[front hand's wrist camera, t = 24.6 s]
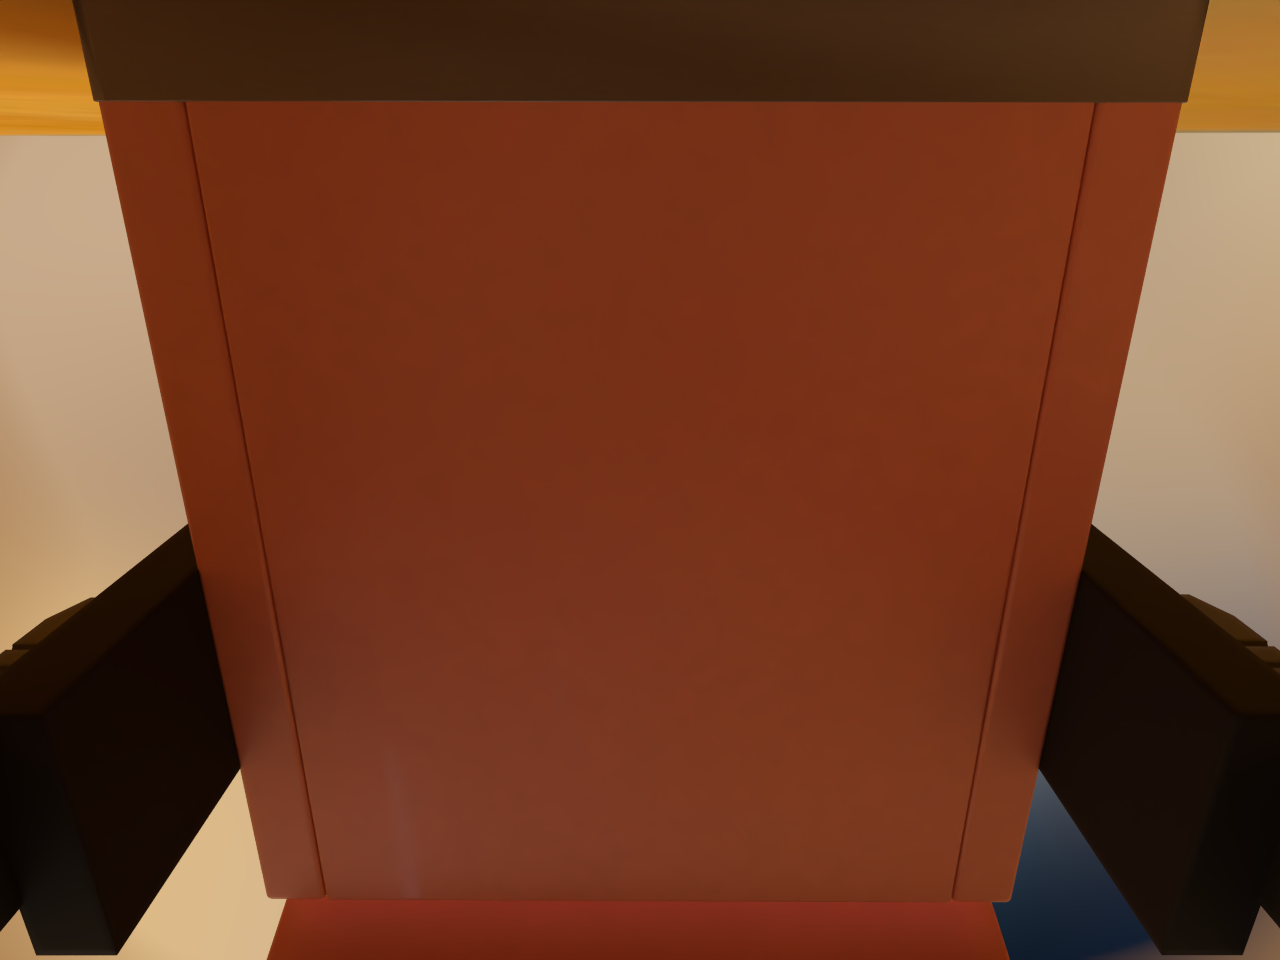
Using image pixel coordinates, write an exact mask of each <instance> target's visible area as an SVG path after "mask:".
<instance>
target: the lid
mask: <svg viewBox="0 0 1280 960" xmlns="http://www.w3.org/2000/svg"><path fill="white" fill-rule="evenodd" d="M267 960H1010V959H1009V956H1008V953H1007V950H1006V947H1005V943H1004V940H1003V937H1002V934H1001V931H1000V928H999V925H998V921H997V918H996V915H995V912H994V909H993V906H992V903H991V902H957V901H954V900H953V899H951V901H950V902H948V903H929V902H714V901H499V900H330V899H328V898H327V896H325V897H324V898H322V899H287V900H286V903H285V906H284V909H283V912H282V915H281V918H280V921H279V924H278V927H277V930H276V933H275V936H274V939H273V942H272V945H271V948H270V951H269V954H268V958H267Z"/></svg>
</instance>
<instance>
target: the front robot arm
mask: <svg viewBox="0 0 1280 960" xmlns="http://www.w3.org/2000/svg"><path fill="white" fill-rule="evenodd" d="M240 768H241V766H240V762H239V757H238V752H237V748H236V743H235V738H234V734H233V729H232V724H231V719H230V715H229V710H228V705H227V701H226V696H225V691H224V687H223V682H222V677H221V672H220V668H219V663H218V658H217V654H216V649H215V644H214V640H213V635H212V630H211V626H210V621H209V616H208V611H207V607H206V602H205V597H204V593H203V588H202V583H201V579H200V574H199V569H198V567H197V562H196V558H195V553H194V548H193V544H192V539H191V534H190V529H189V525H188V524H187V525H186V526H184V527H183V528H182V529H181V530H179V531H178V532H177V533H176V534H174V535H173V536H172V537H171V538H169V539H168V540H167V541H166V542H164V543H163V544H162V545H161V546H159V547H158V548H157V549H156V550H154V551H153V552H152V553H151V554H149V555H148V556H147V557H146V558H144V559H143V560H142V561H141V562H139V563H138V564H137V565H136V566H134V567H133V568H132V569H130V570H129V571H128V572H127V573H126V574H124V575H123V576H122V577H120V578H119V579H118V580H117V581H115V582H114V583H113V584H112V585H110V586H109V587H108V588H107V589H105V590H104V591H103V592H102V593H100V594H99V595H98V596H97V597H95V598H89V599H87V600H85V601H82V602H80V603H78V604H76V605H74V606H72V607H70V608H68V609H66V610H64V611H62V612H60V613H58V614H55V615H53V616H51V617H49V618H47V619H45V620H44V621H43V622H41V623H40V624H39V625H38V626H36V627H35V628H34V629H32V630H31V631H30V632H28V633H27V634H26V635H24V636H23V637H22V638H21V639H19V640H18V641H17V642H15V643H14V644H13V647H12V650H5V651H4V652H2V653H1V654H0V931H1V930H2V929H3V928H4V927H5V925H6V924H7V923H8V922H9V921H10V919H11V918H12V917H13V916H14V915H15V913H16V912H17V911H18V910H19V909H20V912H21V915H22V917H23V920H24V923H25V926H26V928H27V931H28V934H29V937H30V939H31V942H32V945H33V948H34V950H35V953H36V955H117V954H118V953H119V951H120V950H121V948H122V947H123V945H124V944H125V942H126V941H127V939H128V938H129V936H130V935H131V933H132V932H133V930H134V929H135V927H136V926H137V924H138V923H139V921H140V920H141V918H142V917H143V915H144V914H145V912H146V910H147V909H148V907H149V906H150V904H151V903H152V901H153V900H154V898H155V897H156V895H157V894H158V892H159V891H160V889H161V888H162V886H163V885H164V883H165V882H166V880H167V879H168V877H169V876H170V874H171V873H172V871H173V870H174V868H175V867H176V865H177V863H178V862H179V860H180V859H181V857H182V856H183V854H184V853H185V851H186V850H187V848H188V847H189V845H190V844H191V842H192V841H193V839H194V838H195V836H196V835H197V833H198V832H199V830H200V829H201V827H202V826H203V824H204V823H205V821H206V820H207V818H208V817H209V815H210V814H211V812H212V810H213V809H214V807H215V806H216V804H217V803H218V801H219V800H220V798H221V797H222V795H223V794H224V792H225V791H226V789H227V788H228V786H229V785H230V783H231V782H232V780H233V779H234V777H235V776H236V774H237V773H238V771H239V770H240ZM1039 769H1040V771H1041V772H1042V774H1043V775H1044V777H1045V779H1046V780H1047V782H1048V783H1049V785H1050V786H1051V788H1052V789H1053V791H1054V792H1055V794H1056V795H1057V797H1058V798H1059V800H1060V801H1061V803H1062V804H1063V806H1064V807H1065V809H1066V810H1067V812H1068V813H1069V815H1070V816H1071V818H1072V819H1073V821H1074V822H1075V824H1076V825H1077V827H1078V828H1079V830H1080V832H1081V833H1082V835H1083V836H1084V838H1085V839H1086V841H1087V842H1088V844H1089V845H1090V847H1091V848H1092V850H1093V851H1094V853H1095V854H1096V856H1097V857H1098V859H1099V860H1100V862H1101V863H1102V865H1103V866H1104V868H1105V869H1106V871H1107V873H1108V874H1109V876H1110V877H1111V878H1112V880H1113V882H1114V883H1115V885H1116V886H1117V887H1118V889H1119V891H1120V892H1121V894H1122V895H1123V897H1124V898H1125V900H1126V901H1127V903H1128V904H1129V906H1130V907H1131V909H1132V910H1133V912H1134V913H1135V915H1136V916H1137V918H1138V920H1139V921H1140V923H1141V924H1142V926H1143V927H1144V929H1145V930H1146V932H1147V933H1148V935H1149V936H1150V938H1151V939H1152V941H1153V942H1154V944H1155V945H1156V947H1157V948H1158V950H1159V951H1160V953H1161V954H1162V955H1243V952H1244V950H1245V947H1246V944H1247V941H1248V938H1249V936H1250V933H1251V930H1252V928H1253V925H1254V922H1255V919H1256V917H1257V914H1258V911H1259V908H1260V906H1262V907H1263V909H1264V910H1265V911H1266V912H1267V913H1268V915H1269V916H1270V917H1271V918H1272V919H1273V921H1274V922H1275V923H1276V924H1277V925H1278V926H1279V928H1280V651H1279V650H1278V649H1277V648H1276V647H1274V646H1268V645H1267V641H1266V640H1265V639H1264V638H1262V637H1261V636H1260V635H1258V634H1257V633H1256V632H1254V631H1253V630H1252V629H1250V628H1249V627H1248V626H1247V625H1245V624H1244V623H1243V622H1241V621H1240V620H1239V619H1237V618H1236V617H1235V616H1233V615H1231V614H1229V613H1227V612H1225V611H1223V610H1220V609H1218V608H1216V607H1214V606H1212V605H1210V604H1208V603H1206V602H1204V601H1202V600H1199V599H1197V598H1195V597H1193V596H1191V595H1180V594H1179V593H1177V592H1176V591H1175V590H1174V589H1172V588H1171V587H1170V586H1169V585H1167V584H1166V583H1165V582H1164V581H1162V580H1161V579H1160V578H1159V577H1157V576H1156V575H1155V574H1154V573H1152V572H1151V571H1150V570H1149V569H1147V568H1146V567H1145V566H1144V565H1142V564H1141V563H1140V562H1138V561H1137V560H1136V559H1135V558H1133V557H1132V556H1131V555H1130V554H1128V553H1127V552H1126V551H1125V550H1123V549H1122V548H1121V547H1120V546H1118V545H1117V544H1116V543H1115V542H1113V541H1112V540H1111V539H1110V538H1108V537H1107V536H1106V535H1105V534H1103V533H1102V532H1101V531H1100V530H1098V529H1097V528H1096V527H1095V526H1093V525H1092V524H1091V528H1090V532H1089V537H1088V542H1087V546H1086V551H1085V556H1084V560H1083V565H1082V570H1081V574H1080V579H1079V584H1078V588H1077V593H1076V597H1075V602H1074V607H1073V611H1072V616H1071V621H1070V625H1069V630H1068V635H1067V639H1066V644H1065V649H1064V653H1063V658H1062V663H1061V667H1060V672H1059V677H1058V681H1057V686H1056V690H1055V695H1054V700H1053V704H1052V709H1051V714H1050V718H1049V723H1048V728H1047V732H1046V737H1045V742H1044V746H1043V751H1042V756H1041V760H1040V765H1039Z"/></svg>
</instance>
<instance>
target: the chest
mask: <svg viewBox="0 0 1280 960" xmlns="http://www.w3.org/2000/svg"><path fill="white" fill-rule="evenodd" d="M72 2H73V7H74V11H75V16H76V21H77V25H78V30H79V35H80V39H81V44H82V49H83V53H84V58H85V63H86V67H87V72H88V77H89V81H90V86H91V91H92V95H93V100H94V101H96V102H99V105H100V110H101V114H102V119H103V124H104V128H105V133H106V138H107V143H108V147H109V152H110V157H111V162H112V166H113V171H114V176H115V180H116V185H117V190H118V194H119V199H120V204H121V209H122V213H123V218H124V223H125V227H126V232H127V237H128V242H129V246H130V251H131V256H132V260H133V265H134V270H135V275H136V279H137V284H138V288H139V293H140V298H141V303H142V308H143V312H144V317H145V322H146V327H147V331H148V336H149V341H150V345H151V350H152V355H153V360H154V364H155V369H156V374H157V378H158V383H159V388H160V393H161V397H162V402H163V407H164V412H165V416H166V421H167V426H168V430H169V435H170V440H171V444H172V449H173V454H174V459H175V463H176V468H177V473H178V477H179V482H180V487H181V492H182V496H183V501H184V506H185V510H186V515H187V520H188V525H189V529H190V534H191V539H192V544H193V548H194V553H195V558H196V562H197V567H198V569H199V574H200V579H201V583H202V588H203V593H204V597H205V602H206V607H207V611H208V616H209V621H210V626H211V630H212V635H213V640H214V644H215V649H216V654H217V658H218V663H219V668H220V672H221V677H222V682H223V687H224V691H225V696H226V701H227V705H228V710H229V715H230V719H231V724H232V729H233V734H234V738H235V743H236V748H237V752H238V757H239V762H240V766H241V768H240V770H241V775H242V779H243V784H244V789H245V793H246V798H247V803H248V808H249V812H250V817H251V822H252V826H253V831H254V836H255V841H256V845H257V850H258V855H259V860H260V864H261V869H262V874H263V878H264V883H265V888H266V893H267V896H268V897H269V898H272V899H322V898H324V897H325V896H326V895H327V898H328V899H330V900H499V901H714V902H929V903H948V902H950V901H951V898H952V899H953V900H954V901H957V902H1007V901H1009V900H1010V899H1011V895H1012V890H1013V886H1014V881H1015V877H1016V872H1017V867H1018V863H1019V858H1020V853H1021V848H1022V844H1023V839H1024V835H1025V830H1026V825H1027V821H1028V816H1029V811H1030V807H1031V802H1032V797H1033V793H1034V788H1035V783H1036V779H1037V774H1038V769H1039V765H1040V760H1041V756H1042V751H1043V746H1044V742H1045V737H1046V732H1047V728H1048V723H1049V718H1050V714H1051V709H1052V704H1053V700H1054V695H1055V690H1056V686H1057V681H1058V677H1059V672H1060V667H1061V663H1062V658H1063V653H1064V649H1065V644H1066V639H1067V635H1068V630H1069V625H1070V621H1071V616H1072V611H1073V607H1074V602H1075V597H1076V593H1077V588H1078V584H1079V579H1080V574H1081V570H1082V565H1083V560H1084V556H1085V551H1086V546H1087V542H1088V537H1089V532H1090V528H1091V523H1092V518H1093V514H1094V509H1095V504H1096V500H1097V495H1098V491H1099V486H1100V481H1101V477H1102V472H1103V467H1104V463H1105V458H1106V453H1107V449H1108V444H1109V439H1110V435H1111V430H1112V425H1113V421H1114V416H1115V411H1116V407H1117V402H1118V398H1119V393H1120V388H1121V384H1122V379H1123V374H1124V370H1125V365H1126V360H1127V356H1128V351H1129V346H1130V342H1131V337H1132V332H1133V328H1134V323H1135V318H1136V314H1137V309H1138V304H1139V300H1140V295H1141V291H1142V286H1143V281H1144V277H1145V272H1146V267H1147V262H1148V258H1149V253H1150V249H1151V244H1152V239H1153V235H1154V230H1155V225H1156V221H1157V216H1158V212H1159V207H1160V202H1161V198H1162V193H1163V188H1164V184H1165V179H1166V174H1167V169H1168V165H1169V160H1170V156H1171V151H1172V146H1173V142H1174V137H1175V132H1176V128H1177V123H1178V119H1179V114H1180V109H1181V105H1182V103H1186V102H1187V101H1188V96H1189V92H1190V87H1191V83H1192V78H1193V73H1194V69H1195V64H1196V60H1197V55H1198V50H1199V46H1200V41H1201V36H1202V32H1203V27H1204V23H1205V18H1206V13H1207V9H1208V4H1209V0H72Z"/></svg>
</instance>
